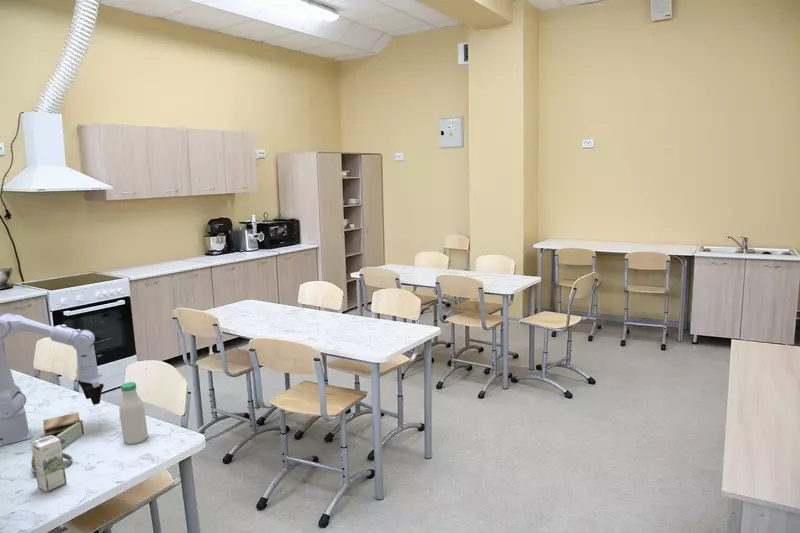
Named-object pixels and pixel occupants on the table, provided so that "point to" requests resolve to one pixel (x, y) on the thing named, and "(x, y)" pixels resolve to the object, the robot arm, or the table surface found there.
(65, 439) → the door
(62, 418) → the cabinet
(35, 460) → the syrup box
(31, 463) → the ceramic mug
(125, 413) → the milk bottle
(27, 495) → the table surface
